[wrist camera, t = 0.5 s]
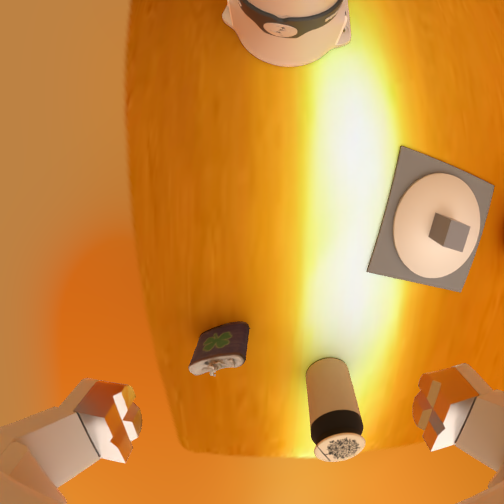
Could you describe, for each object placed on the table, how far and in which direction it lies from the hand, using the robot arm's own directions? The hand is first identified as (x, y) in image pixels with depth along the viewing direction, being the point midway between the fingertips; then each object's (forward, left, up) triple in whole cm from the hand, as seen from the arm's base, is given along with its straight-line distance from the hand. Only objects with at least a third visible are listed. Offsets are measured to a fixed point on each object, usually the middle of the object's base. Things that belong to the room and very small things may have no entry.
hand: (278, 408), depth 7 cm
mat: (-2, +26, -38) cm, 46 cm away
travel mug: (+29, +16, -38) cm, 51 cm away
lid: (-2, +26, -38) cm, 46 cm away
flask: (+24, -4, -38) cm, 45 cm away
